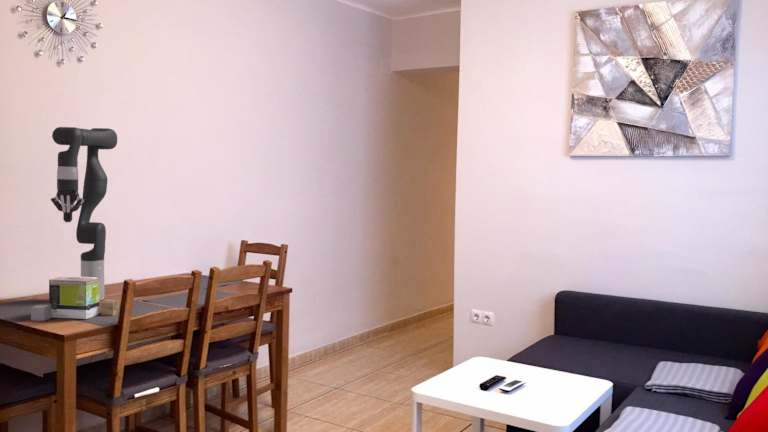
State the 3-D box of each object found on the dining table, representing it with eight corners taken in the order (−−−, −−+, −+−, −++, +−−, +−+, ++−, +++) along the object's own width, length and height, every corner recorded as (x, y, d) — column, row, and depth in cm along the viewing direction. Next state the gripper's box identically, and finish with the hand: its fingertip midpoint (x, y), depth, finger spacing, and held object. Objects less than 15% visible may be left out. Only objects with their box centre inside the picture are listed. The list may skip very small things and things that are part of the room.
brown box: (106, 312, 259) (106, 299, 258) (119, 312, 258) (119, 300, 258) (100, 315, 254) (100, 302, 253) (113, 315, 253) (113, 302, 253)
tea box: (100, 314, 255) (100, 276, 254) (85, 320, 245) (85, 281, 244) (63, 312, 256) (63, 274, 255) (48, 317, 246) (48, 279, 245)
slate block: (38, 317, 246) (38, 304, 246) (51, 318, 246) (51, 304, 246) (30, 320, 241) (30, 306, 241) (44, 321, 241) (44, 307, 241)
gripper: (88, 178, 260) (88, 221, 262) (56, 177, 261) (56, 220, 262) (79, 178, 253) (79, 223, 254) (45, 177, 254) (46, 222, 255)
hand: (67, 222), depth 258 cm, fingers closed
